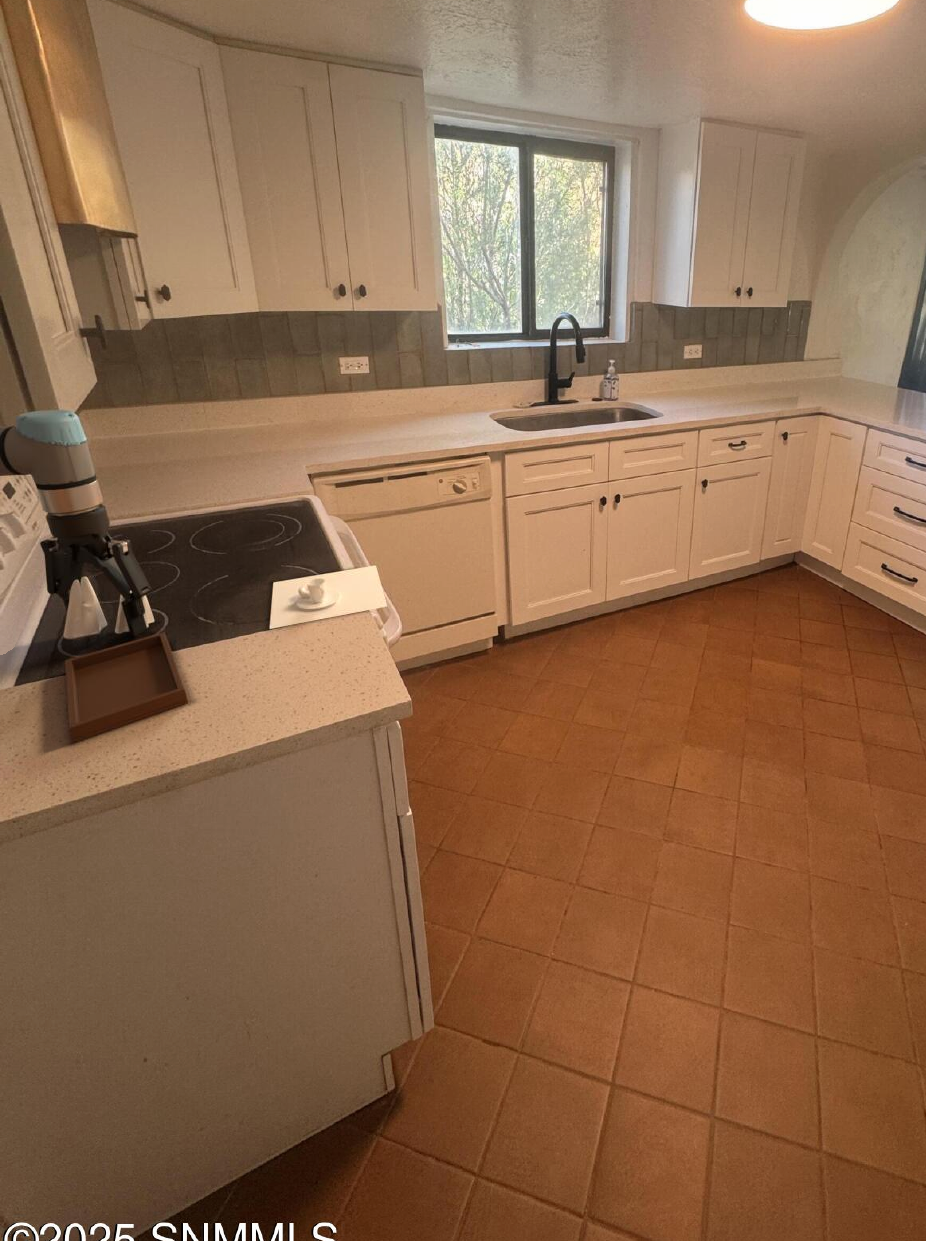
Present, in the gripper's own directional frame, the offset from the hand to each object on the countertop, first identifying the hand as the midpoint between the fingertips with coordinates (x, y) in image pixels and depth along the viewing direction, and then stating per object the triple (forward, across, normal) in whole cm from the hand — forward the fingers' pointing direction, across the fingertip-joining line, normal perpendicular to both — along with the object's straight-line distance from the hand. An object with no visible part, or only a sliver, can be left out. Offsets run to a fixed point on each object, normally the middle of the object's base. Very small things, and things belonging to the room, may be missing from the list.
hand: (112, 630), depth 107 cm
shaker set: (+1, 0, 0) cm, 1 cm away
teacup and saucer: (+1, -29, -18) cm, 35 cm away
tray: (+1, -14, +13) cm, 19 cm away
